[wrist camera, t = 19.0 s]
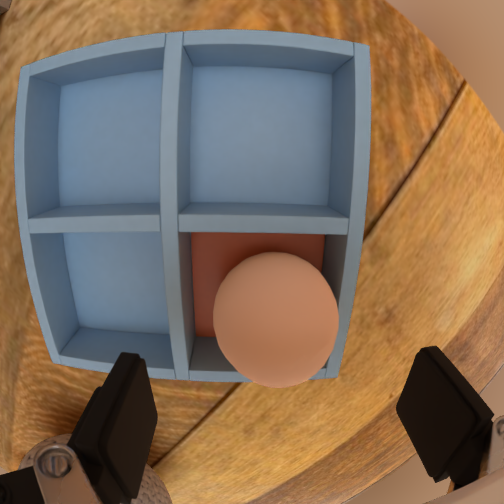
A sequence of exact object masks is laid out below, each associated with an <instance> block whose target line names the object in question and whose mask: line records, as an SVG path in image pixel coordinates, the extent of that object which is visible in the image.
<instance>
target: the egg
mask: <svg viewBox="0 0 504 504" xmlns="http://www.w3.org/2000/svg"><path fill="white" fill-rule="evenodd" d="M213 327H214V330H215V334H216V338H217V341H218V345H219V347H220V349H221V351H222V352H223V354H224V356H225V357H226V358H227V360H228V361H229V362H230V363H231V364H232V365H233V366H234V368H235V369H236V370H237V371H238V372H239V373H240V374H242V375H243V376H245V377H247V378H248V379H250V380H251V381H253V382H255V383H257V384H260V385H263V386H267V387H271V388H284V387H290V386H295V385H297V384H300V383H302V382H305V381H306V380H308V379H309V378H311V377H312V376H314V375H315V374H316V373H317V372H318V371H319V370H320V369H321V368H322V367H323V366H324V364H325V363H326V361H327V359H328V358H329V356H330V354H331V352H332V350H333V348H334V344H335V340H336V336H337V332H338V327H339V314H338V308H337V303H336V299H335V297H334V295H333V292H332V290H331V288H330V286H329V285H328V283H327V281H326V280H325V278H324V277H323V276H322V274H321V273H320V272H319V270H317V269H316V268H315V267H314V266H313V265H312V264H310V263H309V262H308V261H306V260H304V259H302V258H300V257H298V256H295V255H292V254H289V253H283V252H265V253H261V254H258V255H254V256H251V257H249V258H247V259H245V260H244V261H242V262H241V263H239V264H238V265H237V266H236V267H234V268H233V269H232V270H231V271H230V272H229V273H228V275H227V276H226V277H225V279H224V280H223V282H222V283H221V284H220V287H219V290H218V292H217V295H216V298H215V304H214V309H213Z"/></svg>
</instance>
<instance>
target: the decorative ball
mask: <svg viewBox="0 0 504 504" xmlns="http://www.w3.org/2000/svg"><path fill="white" fill-rule="evenodd" d="M71 435H72V434H63V435H58V436H54V437H51V438H48V439H46V440H44V441H42V442H40V443H38V444H37V445H35V446H34V447H33V448H32V449H31V450H30V451H29V452H28V453H27V454H26V455H25V457H24V458H23V460H22V461H21V463H20V465H19V468H18V470H20V469H23V468H26V467H29V466H32V465H33V459H34V455H35V454H36V452H37V451H38V450H39V449H40V448H41V447H43V446H45V445H47V444H51V443H60V444H64V445H67V443H68V441H69V439H70V437H71ZM120 504H121V503H120ZM131 504H172V501H171V498H170V495H169V493H168V491H167V489H166V487H165V485H164V483H163V482H162V480H161V479H160V477H159V476H158V475H157V474H156V472H155V471H154V470H153V469H152V468H151V467H150V466H149V465H148V464H147V463H146V466H145V470H144V473H143V477H142V481H141V485H140V490H139V494H138V497H137V499H132V501H131Z"/></svg>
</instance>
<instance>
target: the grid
mask: <svg viewBox="0 0 504 504" xmlns="http://www.w3.org/2000/svg"><path fill="white" fill-rule="evenodd" d="M370 140H371V71H370V49H369V45H365V44H360V43H356V42H354V43H353V42H350V41H345V40H339V39H334V38H328V37H321V36H315V35H307V34H299V33H290V32H279V31H264V30H236V29H221V30H193V31H185V32H183V31H180V32H168V33H167V34H166V33H156V34H148V35H141V36H135V37H129V38H123V39H117V40H112V41H107V42H103V43H98V44H94V45H90V46H85V47H82V48H78V49H74V50H70V51H67V52H63V53H60V54H57V55H54V56H50V57H47V58H44V59H41V60H39V61H36V62H33V63H31V64H28V65H25V66H23V67H21V71H20V78H19V85H18V94H17V104H16V117H15V139H14V168H15V190H16V203H17V214H18V222H19V230H20V237H21V244H22V250H23V256H24V262H25V267H26V272H27V276H28V281H29V286H30V290H31V294H32V298H33V302H34V306H35V309H36V313H37V317H38V320H39V324H40V327H41V330H42V333H43V336H44V339H45V343H46V345H47V348H48V351H49V354H50V357H51V360H52V362H53V363H56V364H61V365H65V366H71V367H76V368H82V369H88V370H94V371H100V372H107V373H110V371H111V369H112V367H113V366H114V364H115V362H116V360H117V358H118V357H119V355H120V353H121V352H129V353H138V354H139V355H140V358H144V359H145V362H146V367H147V371H148V376H149V378H160V379H172V380H175V379H177V380H190V381H209V382H253V381H251V380H250V379H248V378H247V377H245V376H243V375H242V374H240V373H239V372H238V371H237V370H236V369H235V368H234V366H233V365H232V364H231V363H230V362H229V361H228V360H227V358H226V357H225V356H224V354H223V352H222V351H221V349H220V347H219V345H218V341H217V338H216V334H215V330H214V327H213V309H214V304H215V298H216V295H217V292H218V290H219V287H220V284H221V283H222V282H223V280H224V279H225V277H226V276H227V275H228V273H229V272H230V271H231V270H232V269H233V268H234V267H236V266H237V265H238V264H239V263H241V262H242V261H244V260H245V259H247V258H249V257H251V256H254V255H258V254H261V253H265V252H283V253H289V254H292V255H295V256H298V257H300V258H302V259H304V260H306V261H308V262H309V263H310V264H312V265H313V266H314V267H315V268H316V269H317V270H319V272H320V273H321V274H322V276H323V277H324V278H325V280H326V281H327V283H328V285H329V286H330V288H331V290H332V292H333V295H334V297H335V299H336V303H337V308H338V314H339V327H338V332H337V336H336V340H335V344H334V348H333V350H332V352H331V354H330V356H329V358H328V359H327V361H326V363H325V364H324V366H323V367H322V368H321V369H320V370H319V371H318V372H317V373H316V374H315V375H314V376H312V377H311V378H309V379H308V380H313V379H324V378H325V379H326V378H337V377H338V373H339V369H340V365H341V360H342V356H343V352H344V347H345V342H346V338H347V333H348V328H349V323H350V318H351V312H352V307H353V301H354V296H355V290H356V284H357V277H358V271H359V264H360V257H361V249H362V241H363V233H364V224H365V215H366V204H367V192H368V179H369V163H370Z"/></svg>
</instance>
